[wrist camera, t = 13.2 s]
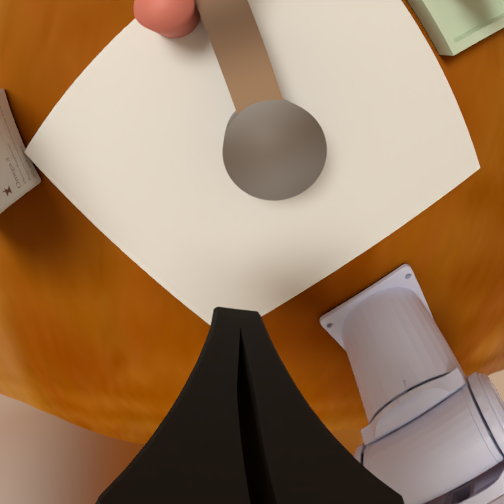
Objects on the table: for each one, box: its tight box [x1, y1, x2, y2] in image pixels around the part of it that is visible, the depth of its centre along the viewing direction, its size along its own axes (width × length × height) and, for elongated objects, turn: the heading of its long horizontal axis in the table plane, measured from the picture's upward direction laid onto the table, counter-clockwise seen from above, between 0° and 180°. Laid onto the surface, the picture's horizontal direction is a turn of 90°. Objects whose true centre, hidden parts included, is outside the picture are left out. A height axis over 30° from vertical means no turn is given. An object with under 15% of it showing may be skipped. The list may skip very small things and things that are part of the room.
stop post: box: [133, 0, 201, 38], centre depth 10 cm, size 2×2×3 cm
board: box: [24, 0, 480, 325], centre depth 16 cm, size 19×22×1 cm
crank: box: [194, 0, 327, 201], centre depth 11 cm, size 13×4×4 cm, turn 18°
